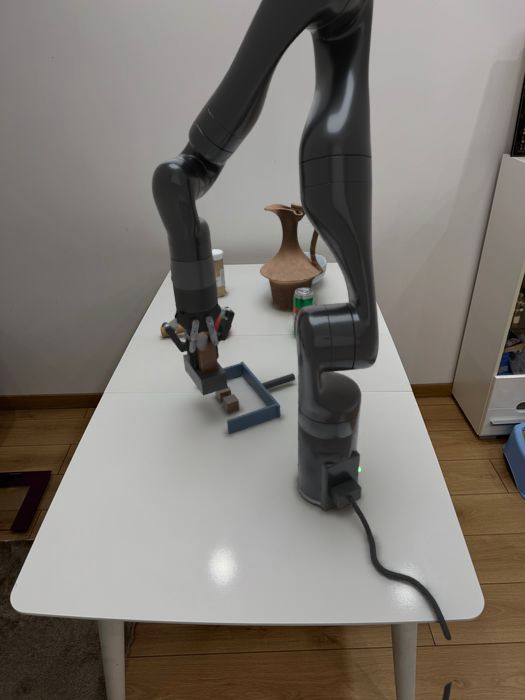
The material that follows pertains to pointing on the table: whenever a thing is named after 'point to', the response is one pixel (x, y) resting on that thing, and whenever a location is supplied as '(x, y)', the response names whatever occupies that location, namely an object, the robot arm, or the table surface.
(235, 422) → the frame
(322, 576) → the table surface
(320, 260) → the cereal bowl
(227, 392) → the crumb
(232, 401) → the crumb
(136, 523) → the table surface
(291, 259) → the pitcher
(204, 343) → the eraser
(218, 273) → the sprinkles bottle
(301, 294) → the soda can
